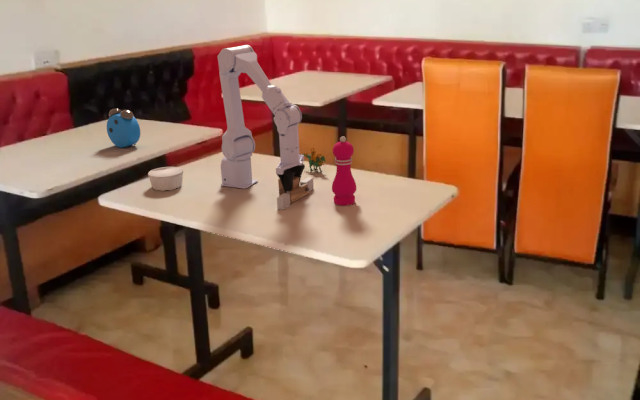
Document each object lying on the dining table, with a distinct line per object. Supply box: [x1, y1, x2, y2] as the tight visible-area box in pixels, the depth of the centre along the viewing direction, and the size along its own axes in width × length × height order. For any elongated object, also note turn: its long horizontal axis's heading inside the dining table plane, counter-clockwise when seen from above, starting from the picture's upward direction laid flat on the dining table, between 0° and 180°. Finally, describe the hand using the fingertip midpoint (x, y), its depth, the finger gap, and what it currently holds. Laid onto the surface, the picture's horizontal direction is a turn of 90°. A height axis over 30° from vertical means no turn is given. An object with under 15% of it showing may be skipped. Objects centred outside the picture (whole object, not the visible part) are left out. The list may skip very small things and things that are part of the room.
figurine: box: [301, 146, 327, 173], centre depth 228 cm, size 3×12×8 cm, turn 42°
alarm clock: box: [106, 108, 141, 149], centre depth 265 cm, size 13×6×15 cm, turn 57°
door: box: [289, 184, 310, 204], centre depth 203 cm, size 2×9×3 cm, turn 147°
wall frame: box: [276, 176, 314, 211], centre depth 203 cm, size 2×20×4 cm, turn 155°
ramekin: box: [147, 166, 184, 192], centre depth 218 cm, size 11×11×5 cm
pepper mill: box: [331, 136, 357, 206], centre depth 196 cm, size 7×7×20 cm
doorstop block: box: [277, 177, 300, 197], centre depth 204 cm, size 5×4×6 cm
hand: (291, 190), depth 204 cm, fingers closed on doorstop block, 4 cm apart
